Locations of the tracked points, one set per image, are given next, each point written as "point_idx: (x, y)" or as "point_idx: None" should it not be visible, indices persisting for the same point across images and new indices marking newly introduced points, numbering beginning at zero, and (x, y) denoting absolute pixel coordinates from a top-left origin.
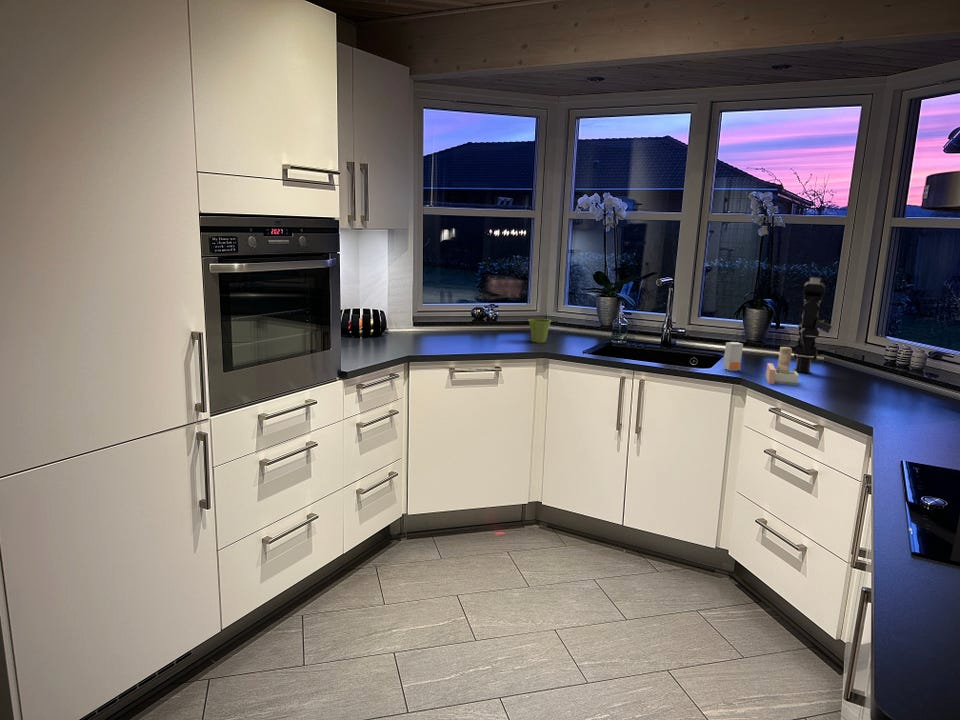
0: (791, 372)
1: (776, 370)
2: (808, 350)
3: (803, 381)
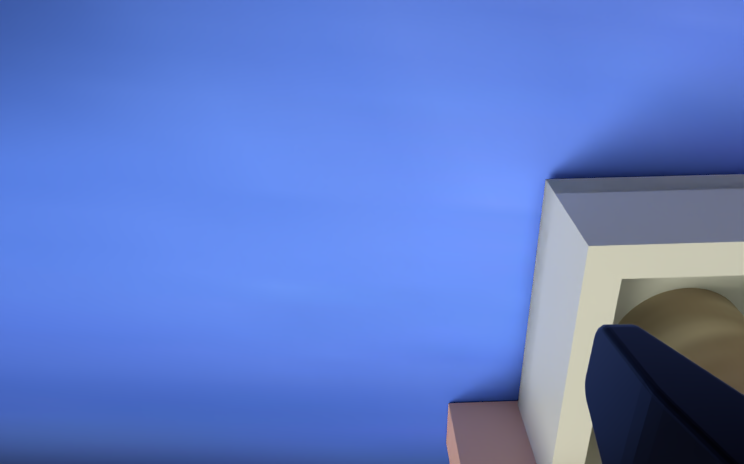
0: (607, 296)
1: (580, 455)
2: (679, 360)
3: (493, 62)
